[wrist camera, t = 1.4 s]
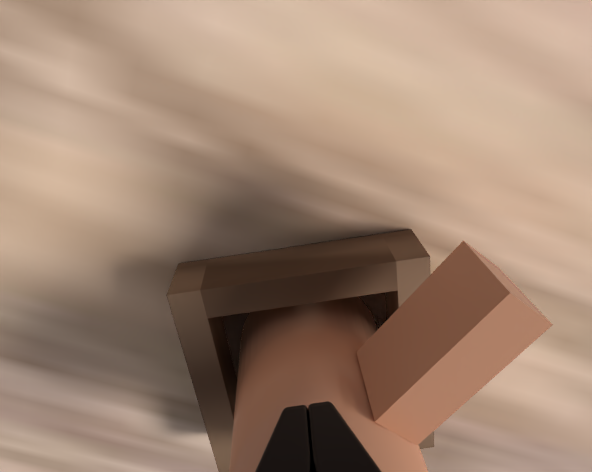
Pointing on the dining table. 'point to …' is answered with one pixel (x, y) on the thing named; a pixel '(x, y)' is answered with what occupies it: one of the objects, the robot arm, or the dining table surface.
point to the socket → (279, 304)
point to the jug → (383, 360)
